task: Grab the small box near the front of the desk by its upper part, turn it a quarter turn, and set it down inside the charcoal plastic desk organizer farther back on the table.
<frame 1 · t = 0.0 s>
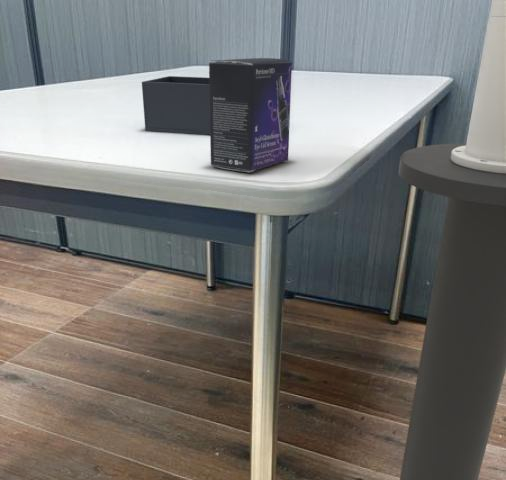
organizer: (193, 127, 87), on the table
box: (250, 166, 66), on the table
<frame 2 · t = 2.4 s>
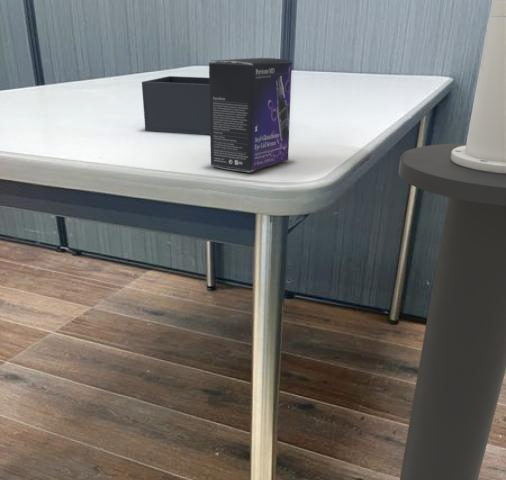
nothing on the table moved.
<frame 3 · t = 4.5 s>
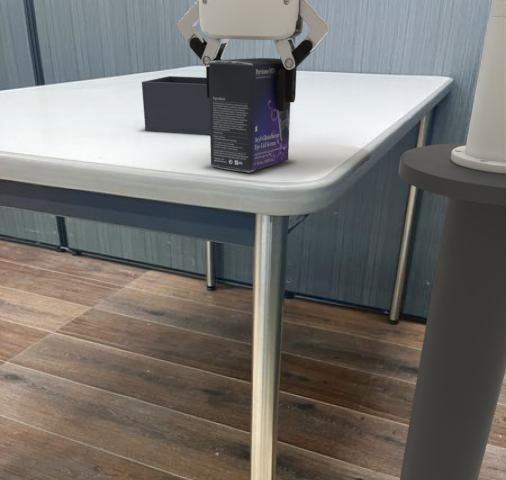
hand: (250, 106, 63), 6 cm above the table, tool pointing down, fingers closed on box, 6 cm apart
box: (250, 166, 66), on the table, touching gripper
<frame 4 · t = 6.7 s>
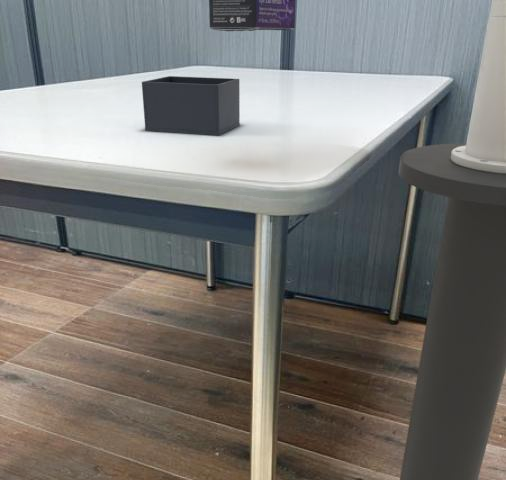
box: (253, 32, 60), point 13 cm above the table, touching gripper
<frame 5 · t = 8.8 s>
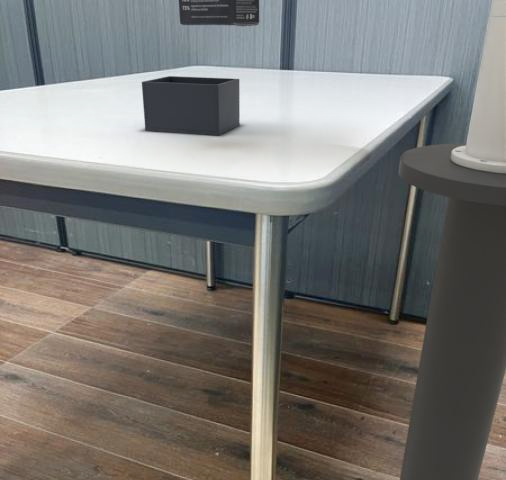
box: (218, 27, 69), point 13 cm above the table, touching gripper
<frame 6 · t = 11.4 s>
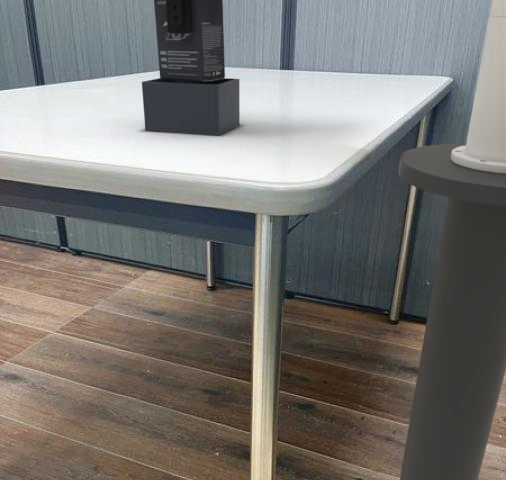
hand: (190, 31, 81), 13 cm above the table, tool pointing down, fingers closed on box, 6 cm apart
box: (191, 81, 84), point 6 cm above the table, touching gripper
when the fingers open (7 cm above the table, at t = 13.4 s): box stays where it is, resting on organizer.
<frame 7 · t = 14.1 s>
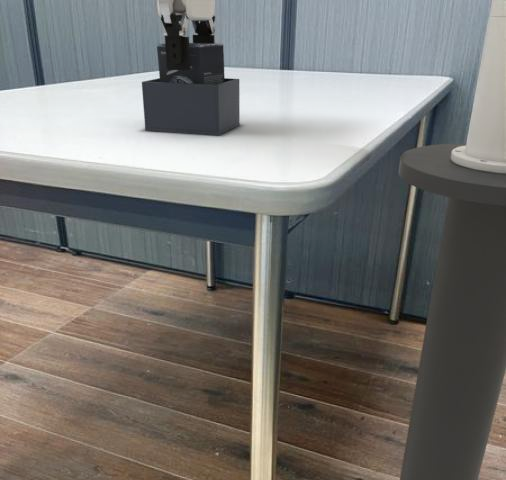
hand: (192, 67, 83), 8 cm above the table, tool pointing down, fingers open, 9 cm apart
box: (194, 125, 87), resting on organizer
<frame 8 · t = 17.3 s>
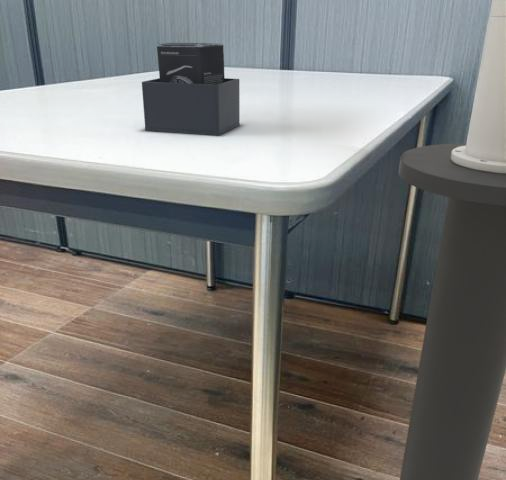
nothing on the table moved.
at the end: box inside the target area in the organizer (0.1 cm from its centre), point 0.3 cm above the organizer's base; box tilted 0° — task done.
